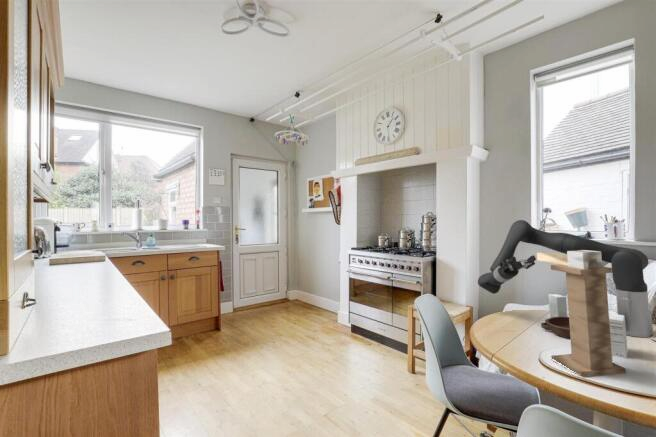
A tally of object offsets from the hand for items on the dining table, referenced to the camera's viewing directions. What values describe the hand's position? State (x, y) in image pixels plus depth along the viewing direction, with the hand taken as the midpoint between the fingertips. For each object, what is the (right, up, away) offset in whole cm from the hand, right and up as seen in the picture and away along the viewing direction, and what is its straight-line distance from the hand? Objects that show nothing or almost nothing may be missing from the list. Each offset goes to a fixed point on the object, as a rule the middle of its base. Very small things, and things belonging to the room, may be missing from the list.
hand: (524, 258), depth 135 cm
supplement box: (+16, -30, -24) cm, 42 cm away
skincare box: (+21, -30, +10) cm, 38 cm away
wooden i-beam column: (0, -31, -33) cm, 45 cm away
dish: (+16, -31, -6) cm, 35 cm away
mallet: (-2, +1, -26) cm, 26 cm away
